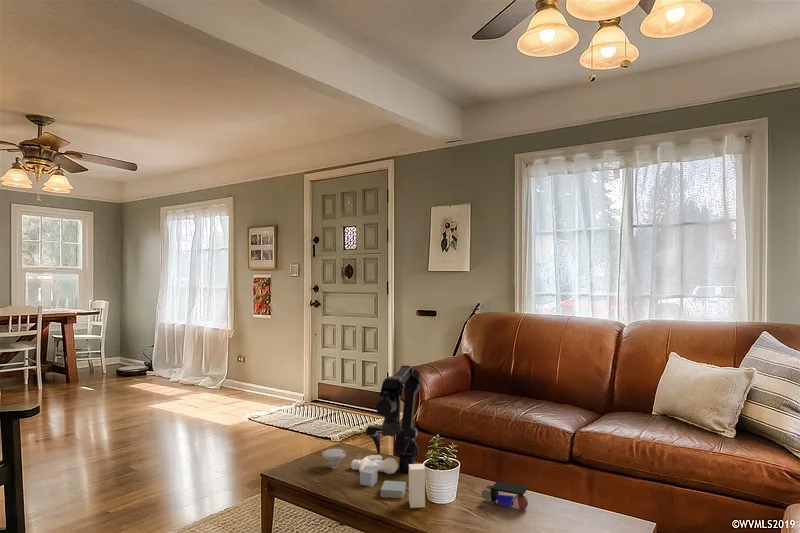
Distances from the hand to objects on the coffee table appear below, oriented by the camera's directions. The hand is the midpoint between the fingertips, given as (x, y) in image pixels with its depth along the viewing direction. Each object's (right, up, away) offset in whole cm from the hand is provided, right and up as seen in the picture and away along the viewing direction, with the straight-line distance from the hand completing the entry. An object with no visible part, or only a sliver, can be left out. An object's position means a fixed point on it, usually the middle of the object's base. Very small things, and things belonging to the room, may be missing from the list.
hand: (391, 455), depth 185 cm
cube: (-9, -13, +6) cm, 17 cm away
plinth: (+1, -13, -3) cm, 13 cm away
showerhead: (-24, -14, +22) cm, 35 cm away
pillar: (+9, -13, -12) cm, 19 cm away
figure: (-7, -14, +18) cm, 24 cm away
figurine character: (+40, -13, -13) cm, 44 cm away
